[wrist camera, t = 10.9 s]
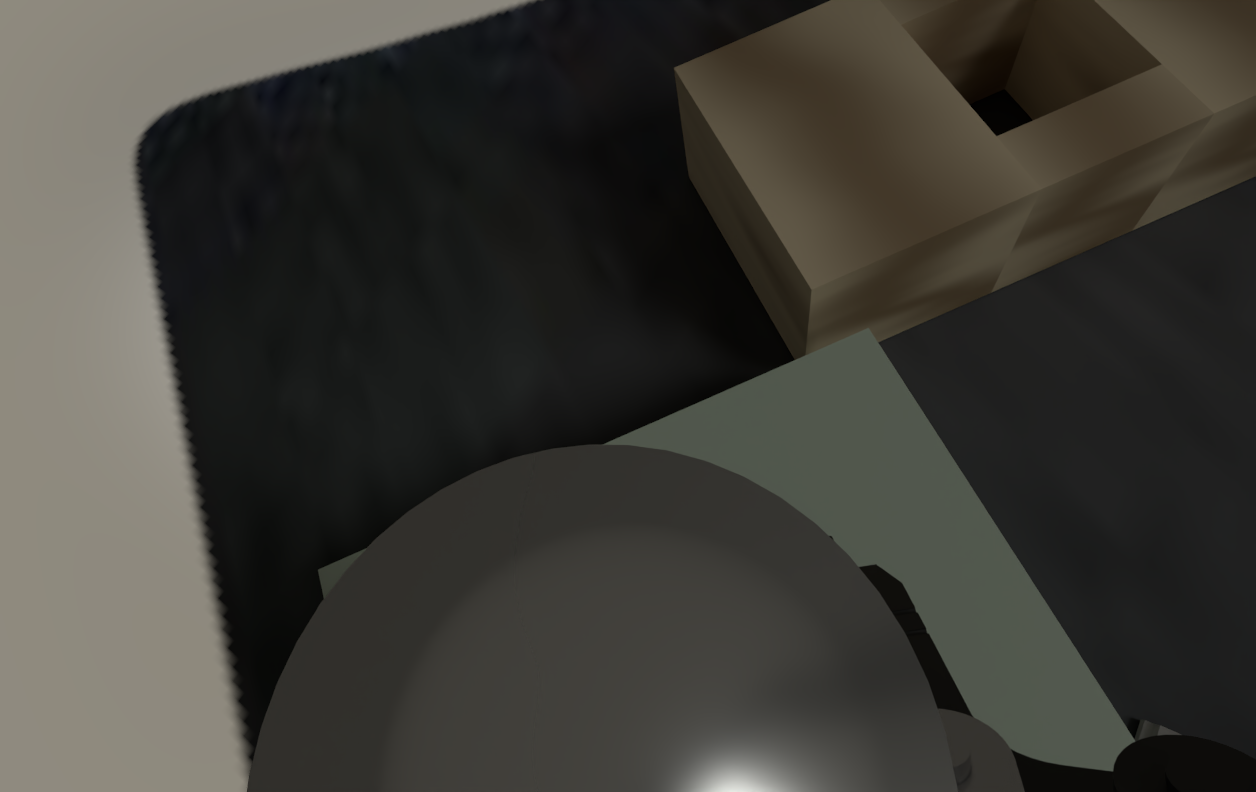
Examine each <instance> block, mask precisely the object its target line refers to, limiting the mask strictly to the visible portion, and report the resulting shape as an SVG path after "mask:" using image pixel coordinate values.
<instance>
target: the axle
mask: <svg viewBox="0 0 1256 792" xmlns="http://www.w3.org/2000/svg"><path fill="white" fill-rule="evenodd" d="M247 792H958V789H957V784H956V779H955V774H954V770H953V765H952V760H951V755H950V751H949V746H948V741H947V736H946V732H945V729H944V726H943V723H942V720H941V717H940V714H939V711H938V709H937V706H936V703H935V700H934V697H933V694H932V691H931V688H930V685H929V682H928V680H927V678H926V676H925V673H924V671H923V669H922V667H921V665H920V663H919V661H918V659H917V657H916V655H915V652H914V650H913V648H912V646H911V644H910V642H909V640H908V638H907V636H906V634H905V632H904V631H903V629H902V628H901V626H900V624H899V623H898V621H897V620H896V618H895V616H894V615H893V613H892V612H891V610H890V609H889V607H888V605H887V604H886V602H885V601H884V599H883V598H882V596H881V594H880V593H879V592H878V590H877V589H876V588H875V587H874V585H873V584H872V583H871V582H870V580H869V579H868V578H867V577H866V576H865V574H864V573H863V572H862V571H861V569H860V568H859V567H858V566H857V565H856V563H855V562H854V561H853V560H852V558H851V557H850V556H849V555H848V554H847V553H846V552H845V551H844V550H843V549H842V548H841V547H840V546H839V545H838V544H837V543H836V542H835V541H833V540H832V539H831V538H830V537H829V536H828V535H827V534H826V533H825V532H824V531H823V530H822V529H821V528H820V527H819V526H818V525H817V524H816V523H814V522H813V521H812V520H810V519H809V518H808V517H806V516H805V515H804V514H802V513H801V512H800V511H798V510H797V509H796V508H794V507H793V506H792V505H790V504H789V503H788V502H786V501H785V500H783V499H782V498H781V497H779V496H777V495H776V494H774V493H772V492H770V491H768V490H767V489H765V488H763V487H761V486H760V485H758V484H756V483H754V482H753V481H751V480H749V479H747V478H746V477H744V476H741V475H739V474H737V473H734V472H732V471H729V470H727V469H724V468H722V467H720V466H717V465H715V464H712V463H710V462H707V461H704V460H701V459H697V458H693V457H690V456H686V455H682V454H679V453H675V452H671V451H668V450H661V449H653V448H646V447H639V446H632V445H581V446H572V447H563V448H554V449H548V450H544V451H540V452H536V453H531V454H527V455H523V456H519V457H515V458H511V459H509V460H506V461H503V462H501V463H498V464H495V465H493V466H490V467H487V468H485V469H482V470H479V471H476V472H475V473H473V474H471V475H469V476H467V477H465V478H463V479H461V480H459V481H457V482H455V483H453V484H451V485H449V486H447V487H445V488H443V489H441V490H440V491H438V492H437V493H435V494H434V495H432V496H431V497H429V498H428V499H426V500H425V501H423V502H422V503H420V504H419V505H417V506H416V507H414V508H413V509H411V510H410V511H408V512H407V513H406V514H405V515H403V516H402V517H401V518H400V519H399V520H397V521H396V522H395V523H394V524H393V525H391V526H390V527H389V528H388V529H387V530H386V531H384V532H383V533H382V534H381V535H380V536H378V537H377V538H376V539H375V540H374V541H373V542H372V543H371V544H370V545H369V546H368V547H367V549H366V550H365V551H364V552H363V553H362V554H361V555H360V556H359V557H358V558H357V559H356V560H355V561H354V562H353V563H352V564H351V565H350V566H349V567H348V568H347V570H346V571H345V572H344V573H343V575H342V576H341V577H340V579H339V580H338V581H337V583H336V584H335V585H334V586H333V588H332V589H331V590H330V592H329V593H328V594H327V596H326V597H325V598H324V599H323V601H322V602H321V603H320V605H319V607H318V608H317V610H316V612H315V613H314V615H313V616H312V618H311V620H310V621H309V623H308V625H307V626H306V628H305V629H304V631H303V633H302V634H301V636H300V638H299V639H298V641H297V643H296V645H295V647H294V649H293V651H292V653H291V655H290V657H289V659H288V661H287V664H286V666H285V668H284V670H283V672H282V674H281V676H280V678H279V680H278V682H277V685H276V688H275V690H274V693H273V696H272V699H271V702H270V704H269V707H268V710H267V713H266V716H265V718H264V721H263V724H262V727H261V730H260V734H259V738H258V742H257V746H256V750H255V754H254V758H253V763H252V767H251V771H250V775H249V781H248V788H247Z"/></svg>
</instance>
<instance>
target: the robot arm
mask: <svg viewBox="0 0 1256 792" xmlns="http://www.w3.org/2000/svg"><path fill="white" fill-rule="evenodd" d="M829 537H830V538H831V539H832V540H833V541H834V539H833V537H832V536H829ZM859 568H860V569H861V571H862V572H863V573H864V574H865V576H866V577H867V578H868V579H869V580H870V582H871V583H872V584H873V585H874V587H875V588H876V589H877V590H878V592H879V593H880V594H881V596H882V598H883V599H884V601H885V602H886V604H887V605H888V607H889V609H890V610H891V612H892V613H893V615H894V616H895V618H896V620H897V621H898V623H899V624H900V626H901V628H902V629H903V631H904V632H905V634H906V636H907V638H908V640H909V642H910V644H911V646H912V648H913V650H914V652H915V655H916V657H917V659H918V661H919V663H920V665H921V667H922V669H923V671H924V673H925V676H926V678H927V680H928V682H929V685H930V688H931V691H932V694H933V697H934V700H935V703H936V706H937V709H938V711H939V714H940V717H941V720H942V723H943V726H944V729H945V732H946V736H947V741H948V746H949V751H950V755H951V760H952V765H953V770H954V774H955V779H956V784H957V789H958V792H1256V760H1255V759H1253V758H1252V757H1250V756H1248V755H1246V754H1244V753H1242V752H1240V751H1238V750H1236V749H1233V748H1231V747H1229V746H1226V745H1223V744H1220V743H1217V742H1214V741H1211V740H1207V739H1203V738H1198V737H1192V736H1185V735H1158V736H1151V737H1147V738H1143V739H1140V740H1138V741H1135V742H1133V743H1131V744H1130V745H1128V746H1127V747H1126V748H1124V749H1123V750H1122V751H1121V753H1120V754H1119V755H1118V756H1117V759H1116V761H1115V763H1114V768H1113V771H1105V770H1097V769H1089V768H1082V767H1074V766H1066V765H1059V764H1054V763H1048V762H1044V761H1040V760H1037V759H1033V758H1030V757H1028V756H1025V755H1023V754H1020V753H1018V752H1016V751H1014V750H1012V749H1010V747H1009V746H1008V744H1007V743H1006V741H1005V740H1004V739H1003V738H1002V737H1001V736H1000V735H999V734H998V733H997V732H996V731H995V730H993V729H992V728H991V727H990V726H988V725H987V724H985V723H983V722H981V721H980V720H978V719H976V718H974V717H973V716H972V714H971V712H970V710H969V708H968V707H967V705H966V703H965V701H964V699H963V697H962V695H961V693H960V691H959V690H958V688H957V686H956V684H955V682H954V680H953V678H952V676H951V674H950V673H949V671H948V669H947V667H946V665H945V663H944V661H943V659H942V657H941V655H940V654H939V652H938V650H937V648H936V646H935V644H934V642H933V640H932V638H931V637H930V635H929V633H928V634H927V631H926V627H925V625H924V623H923V621H922V619H921V618H920V616H919V614H918V612H917V613H916V609H915V606H914V604H913V602H912V601H911V599H910V597H909V595H908V593H907V591H906V589H905V587H904V585H903V583H902V582H900V581H899V580H897V579H896V578H895V577H893V576H892V575H890V574H889V573H888V572H886V571H885V570H884V569H882V568H881V567H879V566H878V565H877V564H875V565H868V566H862V567H859Z"/></svg>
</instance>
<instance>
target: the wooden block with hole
mask: <svg viewBox="0 0 1256 792" xmlns="http://www.w3.org/2000/svg"><path fill="white" fill-rule="evenodd" d="M674 73H675V80H676V87H677V95H678V102H679V109H680V116H681V124H682V131H683V138H684V145H685V153H686V160H687V167H688V174H689V178H690V180H691V181H692V183H693V185H694V187H695V188H696V190H697V192H698V194H699V195H700V197H701V199H702V200H703V202H704V204H705V206H706V207H707V209H708V211H709V213H710V214H711V216H712V218H713V220H714V221H715V223H716V225H717V226H718V228H719V230H720V232H721V233H722V235H723V237H724V239H725V240H726V242H727V244H728V245H729V247H730V249H731V251H732V252H733V254H734V256H735V258H736V259H737V261H738V263H739V264H740V266H741V268H742V270H743V271H744V273H745V275H746V277H747V278H748V280H749V282H750V283H751V285H752V287H753V289H754V290H755V292H756V294H757V296H758V297H759V299H760V301H761V302H762V304H763V306H764V308H765V309H766V311H767V313H768V315H769V316H770V318H771V320H772V321H773V323H774V325H775V327H776V328H777V330H778V332H779V334H780V335H781V337H782V339H783V340H784V342H785V344H786V346H787V347H788V349H789V351H790V353H791V354H792V356H793V358H794V359H795V360H796V359H799V358H801V357H803V356H805V355H808V354H810V353H812V352H815V351H817V350H819V349H821V348H824V347H826V346H828V345H830V344H833V343H835V342H837V341H840V340H842V339H844V338H846V337H849V336H851V335H853V334H856V333H858V332H860V331H862V330H865V329H867V328H869V329H870V331H871V333H872V334H873V336H874V337H875V339H876V340H877V342H880V341H882V340H885V339H887V338H889V337H891V336H894V335H896V334H898V333H900V332H903V331H905V330H907V329H910V328H912V327H914V326H916V325H919V324H921V323H923V322H925V321H928V320H930V319H932V318H935V317H937V316H939V315H941V314H944V313H946V312H948V311H951V310H953V309H955V308H957V307H960V306H962V305H964V304H966V303H969V302H971V301H973V300H976V299H978V298H980V297H982V296H985V295H987V294H989V293H991V292H994V291H996V290H998V289H1001V288H1003V287H1005V286H1007V285H1010V284H1012V283H1014V282H1016V281H1019V280H1021V279H1023V278H1026V277H1028V276H1030V275H1032V274H1035V273H1037V272H1039V271H1041V270H1044V269H1046V268H1048V267H1051V266H1053V265H1055V264H1057V263H1060V262H1062V261H1064V260H1066V259H1069V258H1071V257H1073V256H1076V255H1078V254H1080V253H1082V252H1085V251H1087V250H1089V249H1091V248H1094V247H1096V246H1098V245H1101V244H1103V243H1105V242H1107V241H1110V240H1112V239H1114V238H1116V237H1119V236H1121V235H1123V234H1126V233H1128V232H1130V231H1132V230H1135V229H1137V228H1139V227H1141V226H1144V225H1146V224H1148V223H1151V222H1153V221H1155V220H1157V219H1160V218H1162V217H1164V216H1166V215H1169V214H1171V213H1173V212H1176V211H1178V210H1180V209H1182V208H1185V207H1187V206H1189V205H1191V204H1194V203H1196V202H1198V201H1201V200H1203V199H1205V198H1207V197H1210V196H1212V195H1214V194H1217V193H1219V192H1221V191H1223V190H1226V189H1228V188H1230V187H1232V186H1235V185H1237V184H1239V183H1242V182H1244V181H1246V180H1248V179H1251V178H1253V177H1255V176H1256V0H830V1H828V2H826V3H824V4H821V5H819V6H817V7H814V8H812V9H810V10H807V11H805V12H803V13H800V14H798V15H796V16H793V17H791V18H789V19H786V20H784V21H782V22H779V23H777V24H775V25H772V26H770V27H768V28H765V29H763V30H761V31H759V32H756V33H754V34H752V35H749V36H747V37H745V38H742V39H740V40H738V41H735V42H733V43H731V44H728V45H726V46H724V47H721V48H719V49H717V50H714V51H712V52H710V53H707V54H705V55H703V56H700V57H698V58H696V59H693V60H691V61H689V62H687V63H684V64H682V65H680V66H677V67H675V68H674ZM1004 89H1005V90H1006V91H1007V92H1008V93H1009V94H1010V95H1011V96H1012V98H1013V99H1014V100H1015V101H1016V102H1017V103H1018V104H1019V105H1020V106H1021V108H1022V109H1023V110H1024V111H1025V112H1026V113H1027V114H1028V115H1029V116H1030V118H1031V119H1032V120H1033V121H1031V122H1029V123H1026V124H1024V125H1022V126H1019V127H1017V128H1015V129H1012V130H1010V131H1008V132H1006V133H1003V134H1001V135H999V136H996V135H995V134H994V133H993V132H992V131H991V129H990V128H989V127H988V126H987V125H986V124H985V122H984V121H983V120H982V119H981V118H980V117H979V115H978V114H977V113H976V112H975V111H974V110H973V108H972V107H971V106H970V105H969V104H972V103H974V102H976V101H979V100H981V99H983V98H986V97H988V96H990V95H992V94H995V93H997V92H999V91H1002V90H1004Z"/></svg>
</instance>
